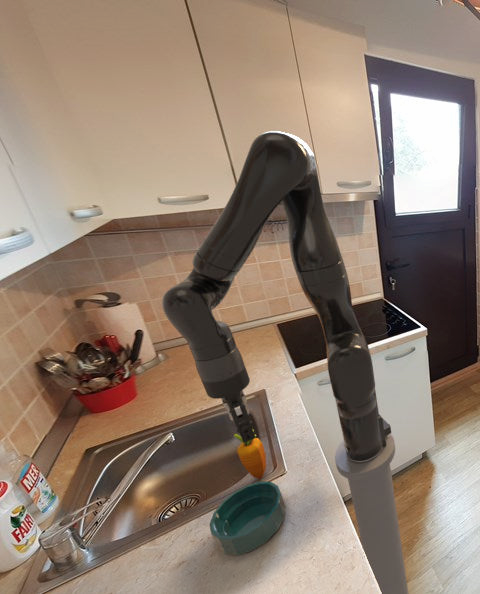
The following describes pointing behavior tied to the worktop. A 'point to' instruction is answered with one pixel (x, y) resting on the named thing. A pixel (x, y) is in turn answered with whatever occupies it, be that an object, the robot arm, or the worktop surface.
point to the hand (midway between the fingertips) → (245, 428)
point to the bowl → (248, 518)
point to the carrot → (252, 456)
